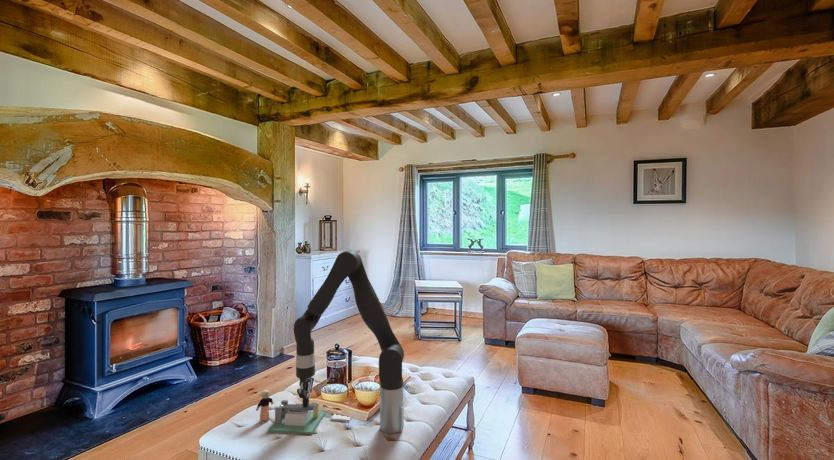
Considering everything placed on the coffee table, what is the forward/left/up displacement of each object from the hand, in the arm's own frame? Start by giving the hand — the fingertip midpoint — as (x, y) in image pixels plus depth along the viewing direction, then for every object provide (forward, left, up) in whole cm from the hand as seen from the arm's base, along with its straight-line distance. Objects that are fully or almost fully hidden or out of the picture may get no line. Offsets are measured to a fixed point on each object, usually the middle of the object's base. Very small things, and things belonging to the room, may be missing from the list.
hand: (305, 405), depth 159 cm
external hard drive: (-14, -9, -8) cm, 18 cm away
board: (+3, 0, -7) cm, 8 cm away
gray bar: (+4, 0, -2) cm, 4 cm away
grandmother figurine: (+18, -1, -7) cm, 19 cm away
